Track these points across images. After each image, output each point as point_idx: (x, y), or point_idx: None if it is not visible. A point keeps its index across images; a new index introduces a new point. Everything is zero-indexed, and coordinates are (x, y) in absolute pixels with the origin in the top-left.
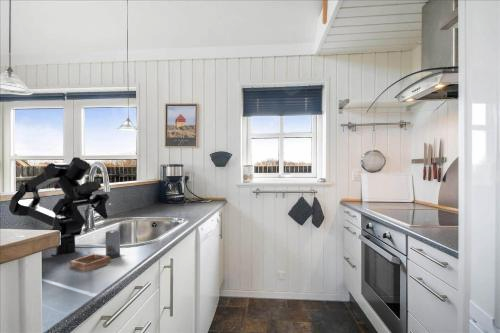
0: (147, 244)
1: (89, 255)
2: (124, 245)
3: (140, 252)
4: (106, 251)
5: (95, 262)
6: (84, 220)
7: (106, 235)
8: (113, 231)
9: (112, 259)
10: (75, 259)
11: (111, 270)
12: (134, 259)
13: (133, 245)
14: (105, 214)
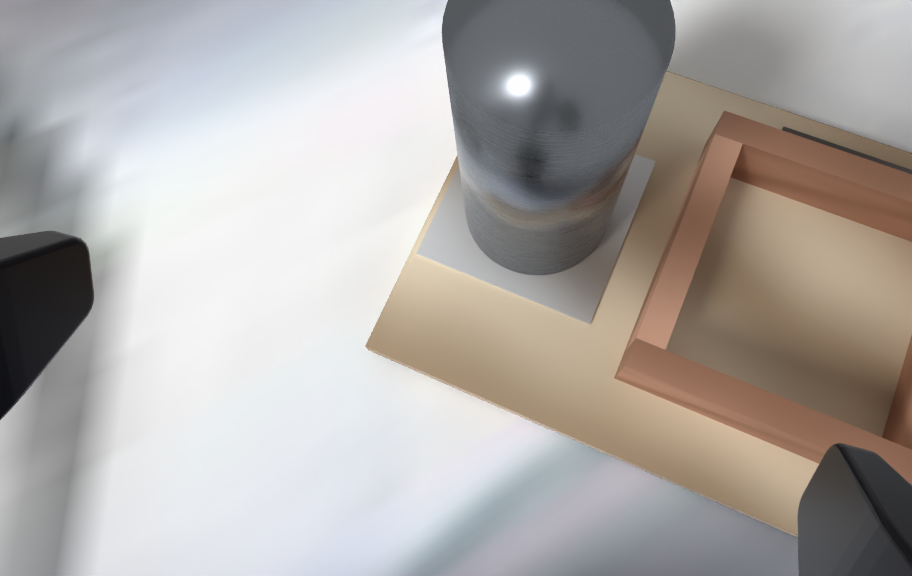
0: (27, 103)
1: (711, 377)
2: None
3: (315, 54)
4: (610, 212)
5: (900, 177)
6: (880, 470)
7: (651, 103)
8: (548, 21)
9: None
10: None
11: (825, 76)
12: None
13: None
14: (11, 265)
